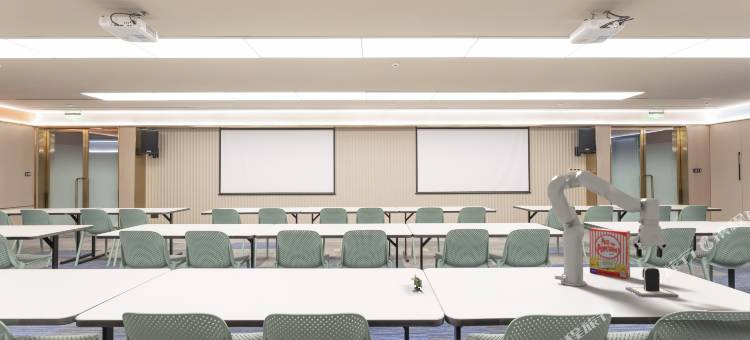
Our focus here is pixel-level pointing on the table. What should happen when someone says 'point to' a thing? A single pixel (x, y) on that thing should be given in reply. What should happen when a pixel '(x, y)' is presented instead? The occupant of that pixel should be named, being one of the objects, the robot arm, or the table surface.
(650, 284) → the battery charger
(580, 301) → the table surface
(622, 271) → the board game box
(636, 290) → the writing board
